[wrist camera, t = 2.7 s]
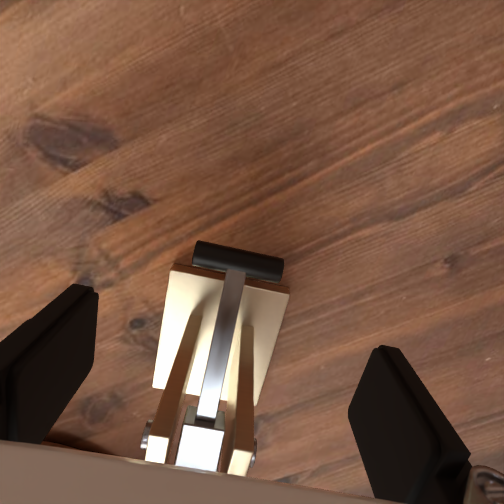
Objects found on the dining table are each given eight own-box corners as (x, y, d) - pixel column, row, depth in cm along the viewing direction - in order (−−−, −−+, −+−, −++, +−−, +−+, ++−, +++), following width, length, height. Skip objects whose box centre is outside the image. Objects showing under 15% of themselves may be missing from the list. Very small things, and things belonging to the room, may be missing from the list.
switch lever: (199, 242, 20) (195, 237, 17) (279, 259, 20) (287, 257, 18) (152, 450, 19) (142, 476, 16) (238, 464, 19) (241, 492, 17)
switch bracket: (173, 263, 25) (110, 369, 14) (288, 287, 26) (315, 407, 15) (155, 377, 29) (94, 532, 18) (256, 395, 29) (258, 557, 18)
